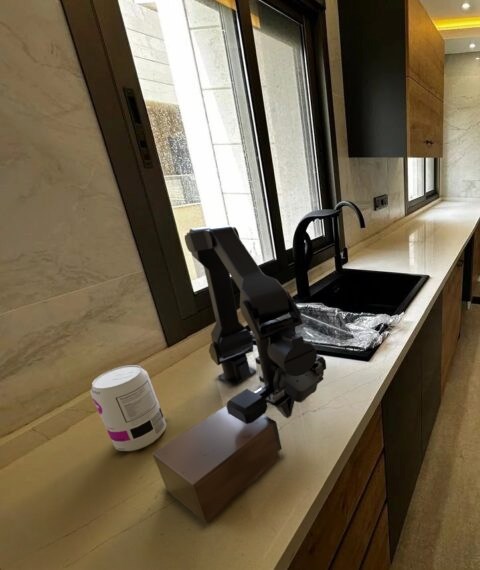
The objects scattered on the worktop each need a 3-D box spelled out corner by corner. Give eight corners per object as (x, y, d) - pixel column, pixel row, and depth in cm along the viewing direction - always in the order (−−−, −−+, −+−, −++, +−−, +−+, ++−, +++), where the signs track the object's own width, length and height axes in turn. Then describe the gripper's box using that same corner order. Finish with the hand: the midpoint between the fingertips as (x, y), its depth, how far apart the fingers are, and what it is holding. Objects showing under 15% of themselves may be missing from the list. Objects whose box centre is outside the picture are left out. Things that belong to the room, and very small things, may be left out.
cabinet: (240, 435, 67) (232, 401, 64) (279, 458, 62) (272, 423, 59) (166, 490, 56) (152, 453, 53) (206, 523, 51) (192, 484, 48)
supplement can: (109, 460, 61) (79, 396, 56) (122, 429, 68) (97, 370, 63) (162, 444, 65) (139, 382, 59) (170, 416, 72) (149, 359, 66)
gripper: (259, 395, 50) (275, 469, 56) (342, 340, 65) (348, 402, 71) (215, 373, 55) (234, 443, 60) (302, 326, 70) (311, 386, 76)
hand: (287, 416), depth 67 cm, fingers closed
